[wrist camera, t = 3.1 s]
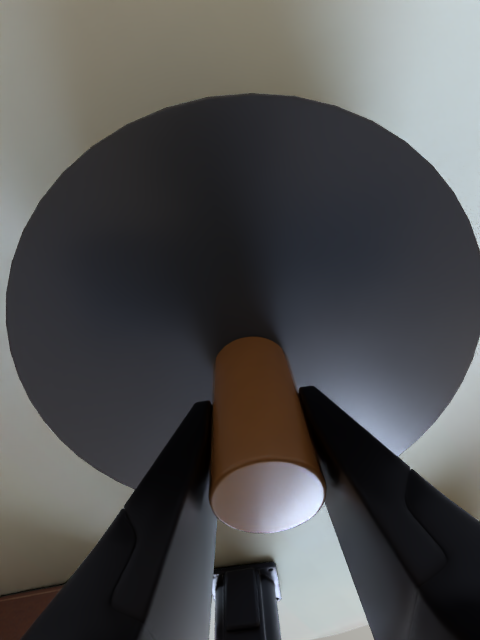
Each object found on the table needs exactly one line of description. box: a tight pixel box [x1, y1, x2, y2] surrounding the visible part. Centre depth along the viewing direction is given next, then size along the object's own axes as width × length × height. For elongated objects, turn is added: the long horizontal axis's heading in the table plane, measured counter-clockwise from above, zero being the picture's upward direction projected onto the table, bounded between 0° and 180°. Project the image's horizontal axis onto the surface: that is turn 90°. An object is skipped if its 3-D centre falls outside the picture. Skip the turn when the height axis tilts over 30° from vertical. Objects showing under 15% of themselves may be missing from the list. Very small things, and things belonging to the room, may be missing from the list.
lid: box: [6, 93, 480, 533], centre depth 9 cm, size 15×15×6 cm
